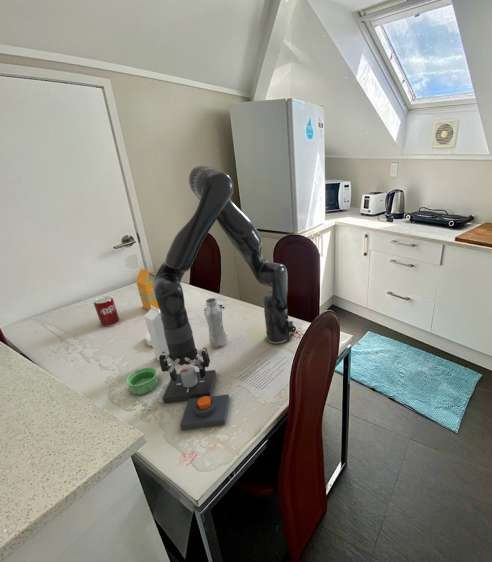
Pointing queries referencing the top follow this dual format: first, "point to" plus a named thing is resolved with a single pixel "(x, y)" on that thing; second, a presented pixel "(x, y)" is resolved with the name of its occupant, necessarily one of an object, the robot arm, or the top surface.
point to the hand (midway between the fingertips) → (189, 378)
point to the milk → (156, 332)
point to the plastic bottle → (215, 323)
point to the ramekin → (142, 380)
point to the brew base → (190, 388)
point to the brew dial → (188, 376)
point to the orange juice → (146, 289)
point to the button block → (205, 413)
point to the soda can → (106, 311)
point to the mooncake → (148, 339)
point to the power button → (204, 403)
